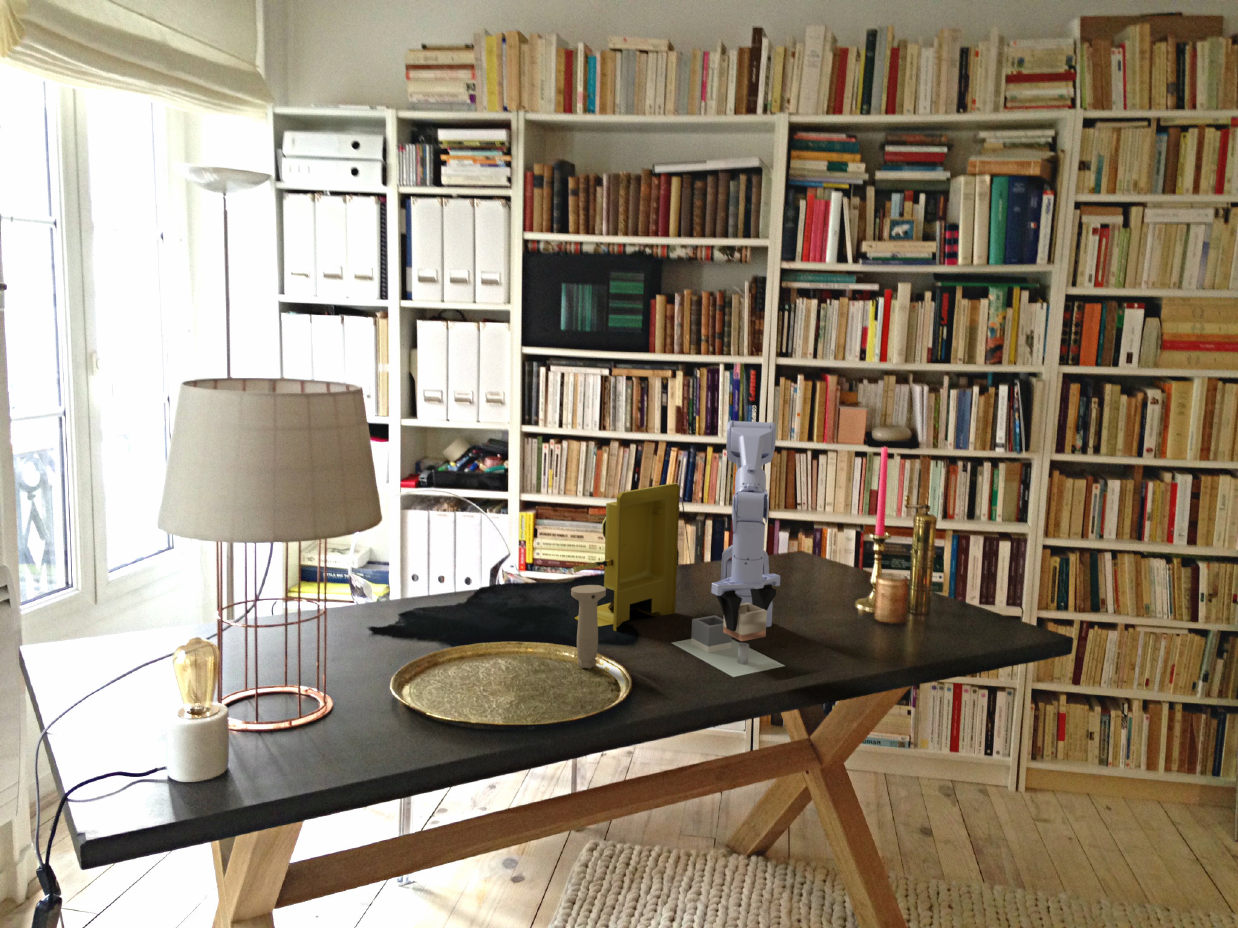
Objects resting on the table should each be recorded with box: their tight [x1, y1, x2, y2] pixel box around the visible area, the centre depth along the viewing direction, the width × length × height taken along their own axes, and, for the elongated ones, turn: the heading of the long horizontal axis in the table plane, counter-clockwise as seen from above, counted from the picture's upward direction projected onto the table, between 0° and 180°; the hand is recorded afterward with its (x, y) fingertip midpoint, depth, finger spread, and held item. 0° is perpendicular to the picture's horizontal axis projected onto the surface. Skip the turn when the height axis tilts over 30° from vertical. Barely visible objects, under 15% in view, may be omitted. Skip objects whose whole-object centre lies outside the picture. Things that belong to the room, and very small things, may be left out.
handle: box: [570, 584, 607, 669], centre depth 188 cm, size 5×6×15 cm
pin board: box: [671, 638, 786, 678], centre depth 193 cm, size 12×20×5 cm, turn 31°
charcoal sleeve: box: [690, 614, 733, 653], centre depth 197 cm, size 6×6×5 cm
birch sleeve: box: [723, 603, 767, 642], centre depth 188 cm, size 6×6×5 cm
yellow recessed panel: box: [572, 482, 693, 632], centre depth 214 cm, size 31×14×30 cm, turn 135°
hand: (744, 626), depth 188 cm, fingers closed on birch sleeve, 6 cm apart
